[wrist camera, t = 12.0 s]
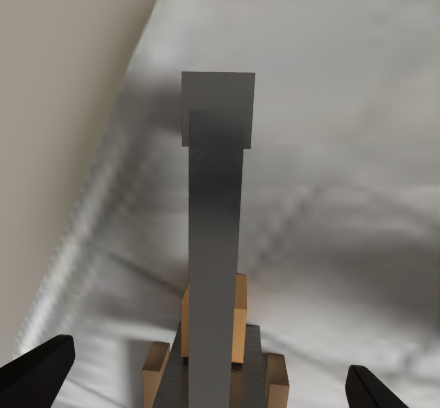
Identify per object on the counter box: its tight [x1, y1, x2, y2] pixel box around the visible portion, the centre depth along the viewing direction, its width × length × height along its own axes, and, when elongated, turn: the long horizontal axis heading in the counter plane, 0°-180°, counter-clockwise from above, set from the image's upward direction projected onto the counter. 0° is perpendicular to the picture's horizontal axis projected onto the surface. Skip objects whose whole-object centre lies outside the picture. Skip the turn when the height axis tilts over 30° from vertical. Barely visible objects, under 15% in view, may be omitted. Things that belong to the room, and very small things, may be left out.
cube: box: [181, 274, 247, 363], centre depth 21 cm, size 4×4×4 cm
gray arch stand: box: [152, 72, 266, 408], centre depth 17 cm, size 7×20×8 cm, turn 178°
